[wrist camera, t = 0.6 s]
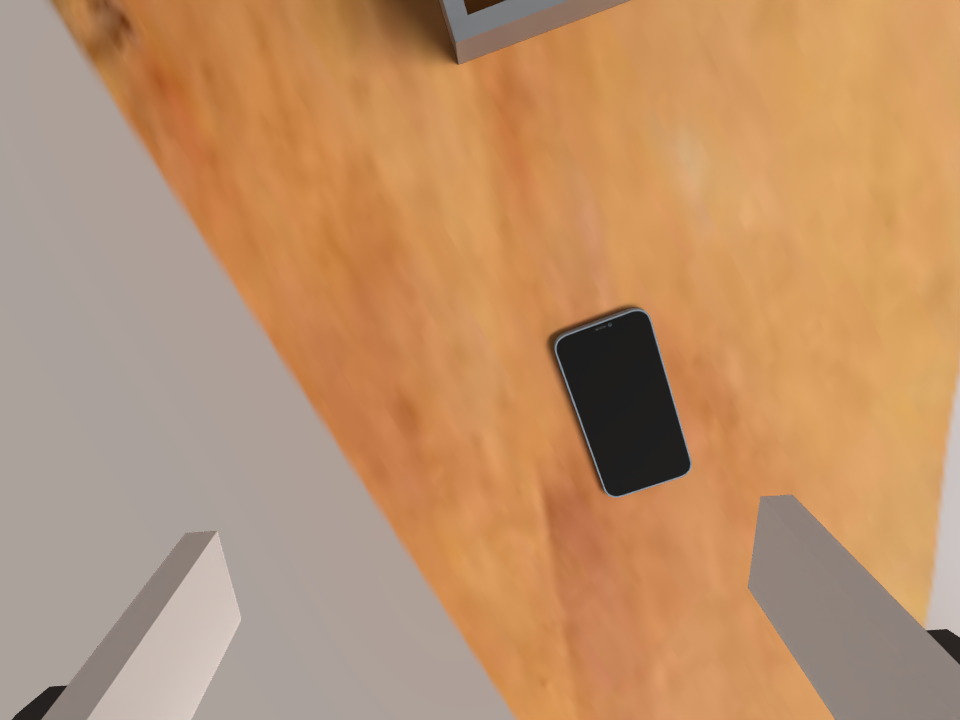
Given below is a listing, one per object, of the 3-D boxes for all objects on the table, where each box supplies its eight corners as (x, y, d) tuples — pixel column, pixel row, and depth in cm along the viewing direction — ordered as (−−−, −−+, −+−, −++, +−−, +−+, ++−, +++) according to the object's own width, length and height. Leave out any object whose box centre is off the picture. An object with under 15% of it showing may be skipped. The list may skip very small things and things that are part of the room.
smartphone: (607, 501, 44) (549, 340, 39) (605, 494, 45) (548, 336, 40) (695, 472, 43) (647, 304, 38) (690, 466, 44) (643, 301, 39)
